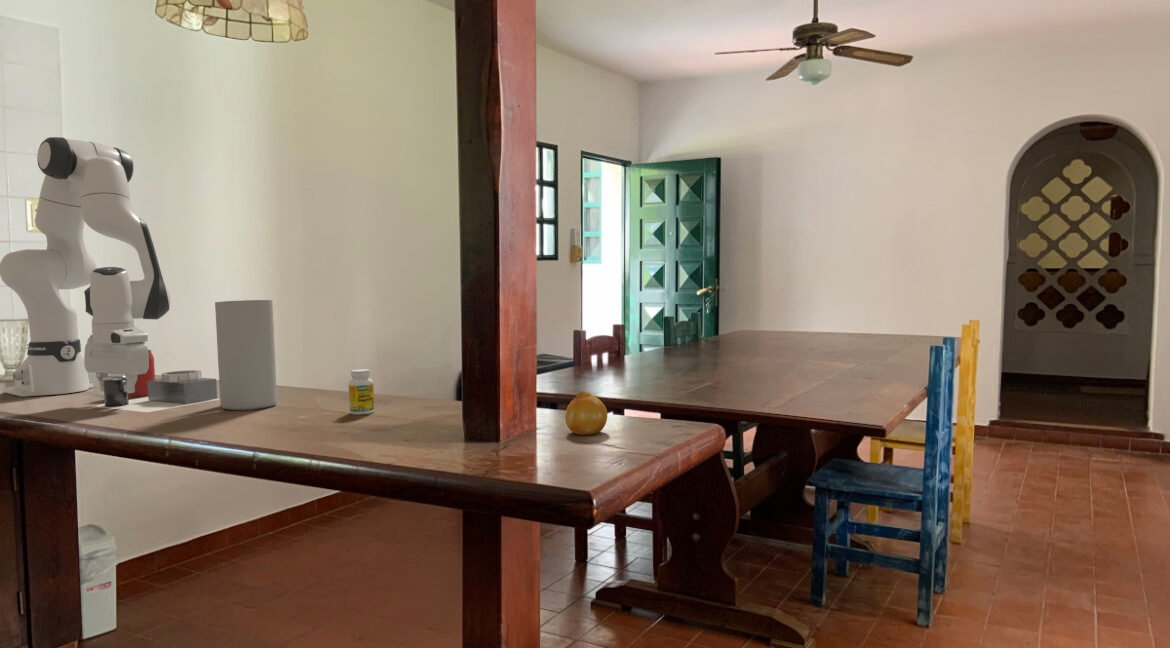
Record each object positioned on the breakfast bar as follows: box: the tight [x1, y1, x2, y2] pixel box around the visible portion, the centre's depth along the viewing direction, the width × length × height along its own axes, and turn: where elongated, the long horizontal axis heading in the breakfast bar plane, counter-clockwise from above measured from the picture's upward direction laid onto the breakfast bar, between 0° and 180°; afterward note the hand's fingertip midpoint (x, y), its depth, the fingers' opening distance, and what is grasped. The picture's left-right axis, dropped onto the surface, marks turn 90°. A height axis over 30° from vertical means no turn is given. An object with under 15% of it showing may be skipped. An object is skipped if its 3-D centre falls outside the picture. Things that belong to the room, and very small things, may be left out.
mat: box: [90, 396, 220, 414], centre depth 204 cm, size 22×20×1 cm
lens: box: [103, 374, 129, 407], centre depth 201 cm, size 5×5×7 cm
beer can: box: [128, 349, 156, 398], centre depth 217 cm, size 7×7×12 cm
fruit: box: [564, 391, 608, 436], centre depth 158 cm, size 8×8×8 cm
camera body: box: [147, 369, 218, 404], centre depth 208 cm, size 14×9×7 cm, turn 61°
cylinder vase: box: [214, 299, 278, 412], centre depth 197 cm, size 12×12×25 cm
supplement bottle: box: [348, 368, 375, 416], centre depth 185 cm, size 5×5×10 cm
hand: (117, 391), depth 201 cm, fingers open, 8 cm apart
